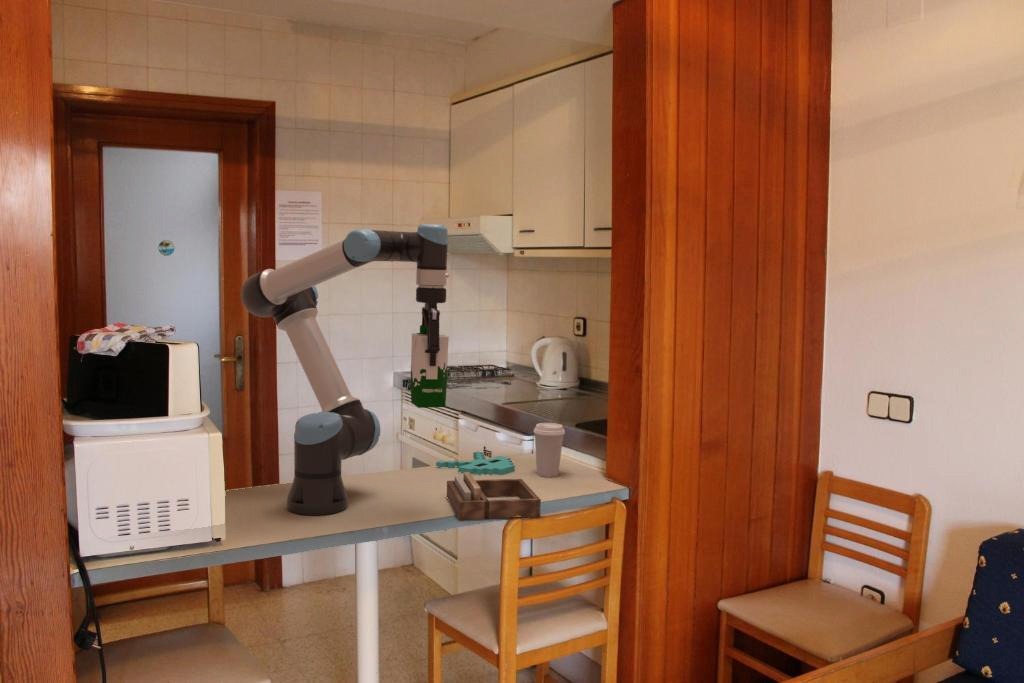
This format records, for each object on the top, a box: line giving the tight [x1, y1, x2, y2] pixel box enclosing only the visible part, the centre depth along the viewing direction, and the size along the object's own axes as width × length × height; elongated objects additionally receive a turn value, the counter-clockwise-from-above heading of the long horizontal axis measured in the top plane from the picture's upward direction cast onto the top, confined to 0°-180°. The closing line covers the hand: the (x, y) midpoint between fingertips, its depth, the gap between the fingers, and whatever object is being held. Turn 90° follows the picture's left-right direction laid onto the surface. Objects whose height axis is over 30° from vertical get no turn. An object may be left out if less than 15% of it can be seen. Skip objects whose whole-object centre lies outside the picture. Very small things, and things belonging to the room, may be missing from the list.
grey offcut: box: [453, 475, 471, 501], centre depth 226 cm, size 2×16×6 cm, turn 13°
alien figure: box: [435, 450, 516, 476], centre depth 269 cm, size 20×2×20 cm
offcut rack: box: [446, 478, 542, 521], centre depth 228 cm, size 21×20×4 cm
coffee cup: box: [533, 422, 566, 478], centre depth 263 cm, size 10×10×15 cm
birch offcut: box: [462, 472, 481, 501], centre depth 226 cm, size 2×16×8 cm, turn 13°
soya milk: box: [410, 324, 450, 409], centre depth 220 cm, size 9×9×20 cm
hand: (428, 376), depth 220 cm, fingers closed on soya milk, 9 cm apart
